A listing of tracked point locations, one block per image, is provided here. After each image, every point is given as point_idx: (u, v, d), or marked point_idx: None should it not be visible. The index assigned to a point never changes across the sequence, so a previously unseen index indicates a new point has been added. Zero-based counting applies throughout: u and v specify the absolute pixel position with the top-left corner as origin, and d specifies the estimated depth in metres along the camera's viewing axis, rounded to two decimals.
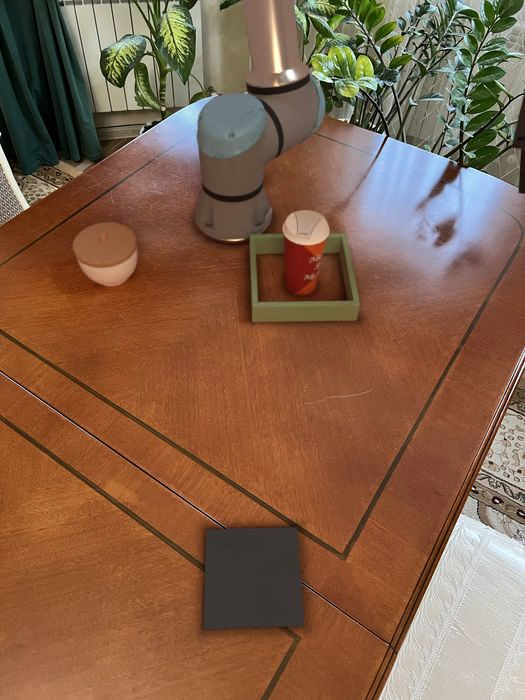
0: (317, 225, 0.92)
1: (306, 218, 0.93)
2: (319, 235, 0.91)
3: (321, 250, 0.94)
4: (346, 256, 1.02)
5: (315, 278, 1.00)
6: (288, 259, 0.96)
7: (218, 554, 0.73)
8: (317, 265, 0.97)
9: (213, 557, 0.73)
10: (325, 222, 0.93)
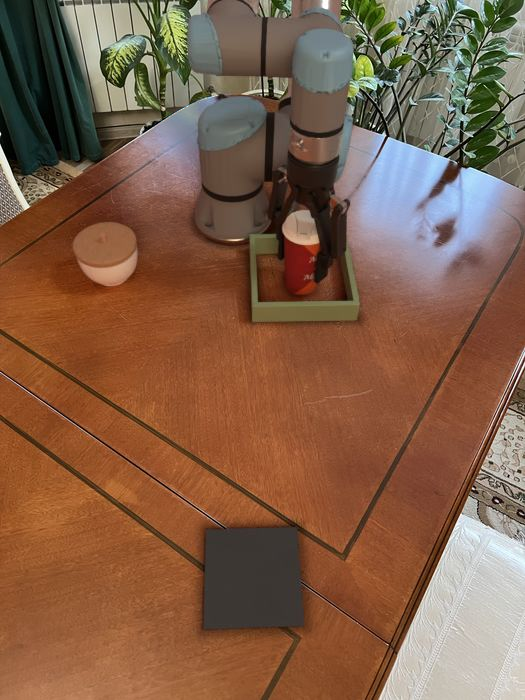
0: None
1: (306, 217, 0.93)
2: None
3: None
4: (346, 256, 1.02)
5: None
6: (288, 259, 0.96)
7: (218, 554, 0.73)
8: None
9: (213, 557, 0.73)
10: None
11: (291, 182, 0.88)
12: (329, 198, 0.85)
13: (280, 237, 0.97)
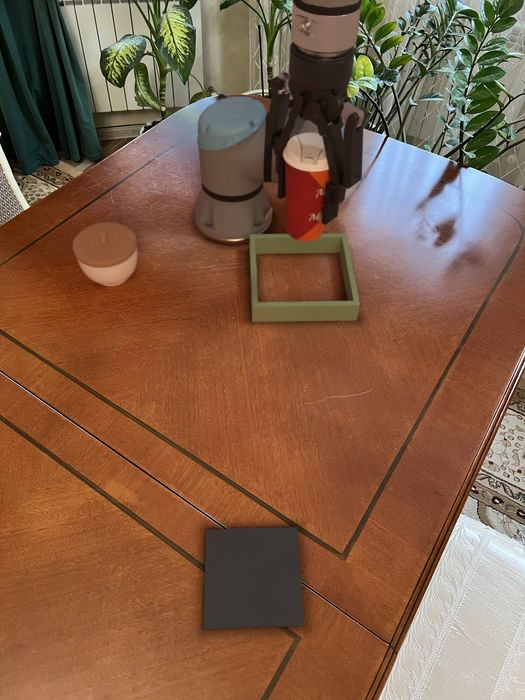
0: None
1: (312, 140, 0.76)
2: None
3: None
4: (346, 256, 1.02)
5: None
6: (290, 194, 0.79)
7: (218, 554, 0.73)
8: None
9: (213, 557, 0.73)
10: None
11: (294, 90, 0.71)
12: (342, 106, 0.68)
13: (280, 168, 0.80)
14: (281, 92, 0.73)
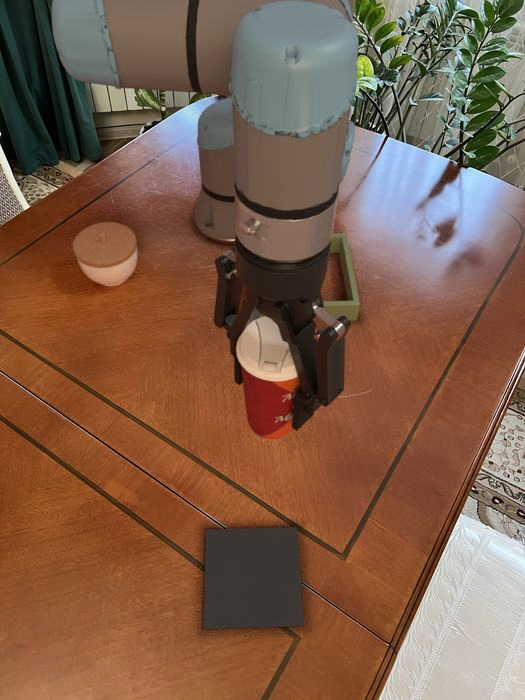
0: None
1: (277, 330, 0.55)
2: None
3: None
4: (346, 256, 1.02)
5: None
6: (248, 393, 0.58)
7: (218, 554, 0.73)
8: None
9: (213, 557, 0.73)
10: None
11: None
12: (313, 315, 0.47)
13: (236, 355, 0.59)
14: (230, 276, 0.51)
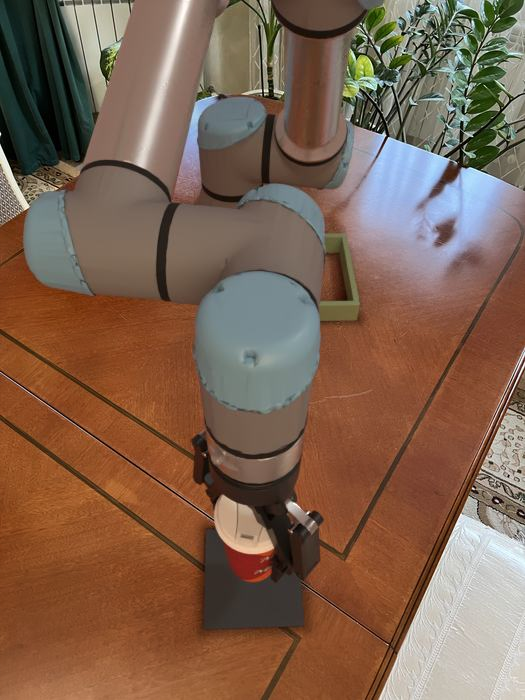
0: None
1: None
2: None
3: None
4: (346, 256, 1.02)
5: None
6: (226, 550, 0.59)
7: (218, 554, 0.73)
8: None
9: (213, 557, 0.73)
10: None
11: None
12: (286, 512, 0.47)
13: None
14: (206, 455, 0.52)
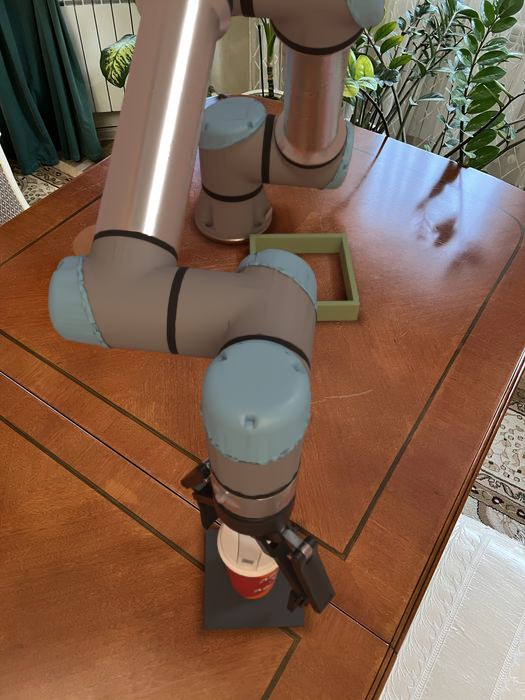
0: (269, 541, 0.60)
1: None
2: (271, 563, 0.59)
3: (277, 567, 0.62)
4: (346, 256, 1.02)
5: (272, 583, 0.68)
6: (228, 572, 0.64)
7: (218, 554, 0.73)
8: (273, 577, 0.65)
9: (213, 557, 0.73)
10: None
11: None
12: (282, 540, 0.52)
13: (201, 511, 0.65)
14: (207, 481, 0.57)
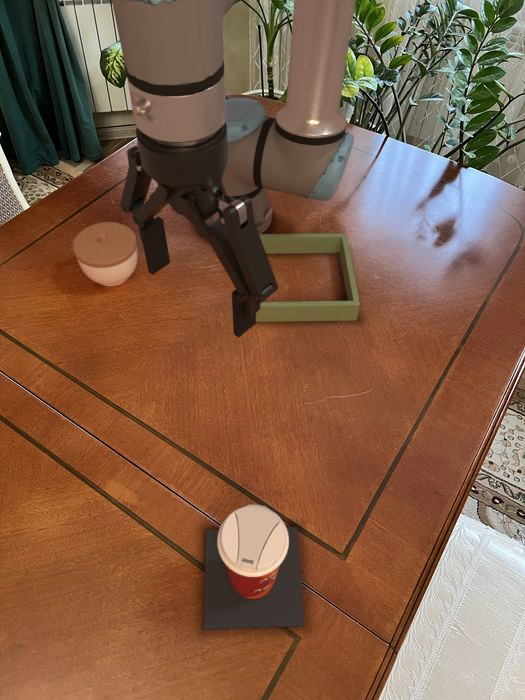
0: (269, 541, 0.60)
1: (254, 524, 0.61)
2: (271, 563, 0.59)
3: (277, 567, 0.62)
4: (346, 256, 1.02)
5: (272, 583, 0.68)
6: (228, 572, 0.64)
7: (218, 554, 0.73)
8: (273, 577, 0.65)
9: (213, 557, 0.73)
10: (282, 534, 0.61)
11: None
12: (215, 204, 0.50)
13: (144, 240, 0.62)
14: (141, 169, 0.54)
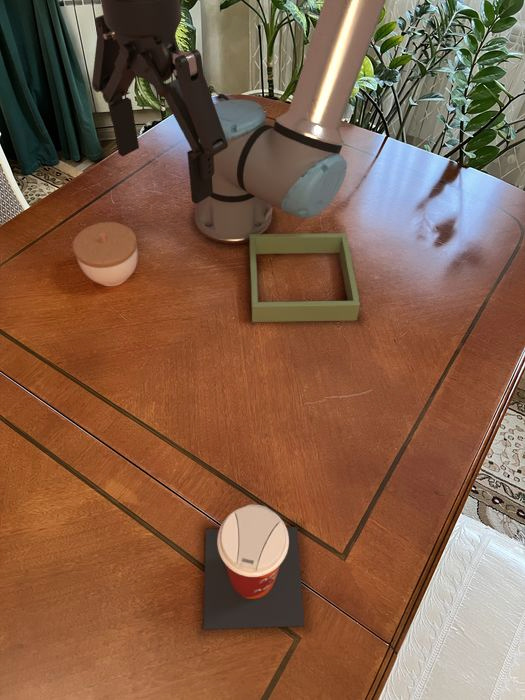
0: (269, 541, 0.60)
1: (254, 524, 0.61)
2: (271, 563, 0.59)
3: (277, 567, 0.62)
4: (346, 256, 1.02)
5: (272, 583, 0.68)
6: (228, 572, 0.64)
7: (218, 554, 0.73)
8: (273, 577, 0.65)
9: (213, 557, 0.73)
10: (282, 534, 0.61)
11: (121, 41, 0.59)
12: (169, 58, 0.56)
13: (113, 118, 0.68)
14: (107, 37, 0.60)
